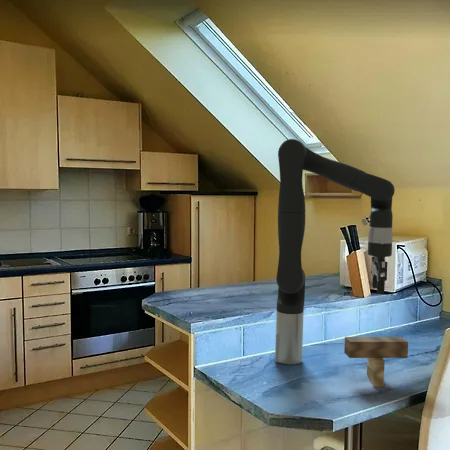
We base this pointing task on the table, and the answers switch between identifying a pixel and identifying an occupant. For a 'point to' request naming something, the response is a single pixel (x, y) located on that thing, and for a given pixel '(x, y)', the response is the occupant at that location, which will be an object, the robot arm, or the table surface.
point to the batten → (376, 347)
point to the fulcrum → (376, 371)
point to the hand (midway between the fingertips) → (378, 290)
